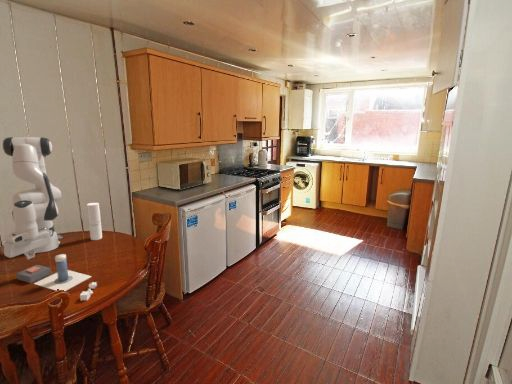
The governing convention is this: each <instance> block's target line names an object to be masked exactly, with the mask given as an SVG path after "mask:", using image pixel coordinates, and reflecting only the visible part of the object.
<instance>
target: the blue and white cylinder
mask: <svg viewBox="0 0 512 384" xmlns="http://www.w3.org/2000/svg"><path fill="white" fill-rule="evenodd" d="M54 261H55V265H56V273H57V275H58V281H59V282H64V281H67V280H68V279H69V277H68V270H69V269H68V261H67V254H65V253H61V254H57V255H55V256H54Z"/></svg>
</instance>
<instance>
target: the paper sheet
mask: <svg viewBox="0 0 512 384" xmlns="http://www.w3.org/2000/svg"><path fill="white" fill-rule="evenodd" d="M68 277H69V279H68V280H67V281H64V282H59V281H58V275H57V272H55V273H53V274H50V275H48V276H46V277H43V278H41V279H39V280H37V282H36V281H35V282H33V285H36V286H38V287H42V288H46V289H48V290H51V291H52V290H53V291H55V292H58V291H57V289H59V290H64V291H65V292H66V291H68V290H71V289H73V288H74V287H76V286H78V285H79V284H81V283H84V282H85V281H87V280H89V279H91V278H92V276H91V275H89V274H85V273H80V272H77V271H75V270H70V269H68Z"/></svg>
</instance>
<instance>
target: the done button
mask: <svg viewBox="0 0 512 384" xmlns="http://www.w3.org/2000/svg"><path fill="white" fill-rule="evenodd" d="M31 267H32V266H31ZM29 268H30V267H29ZM27 269H28V268H27ZM39 270H41V268H39V267H32V268H30V269H28V270H26V272H28V273H31V274H32V273H34V272H37V271H39Z"/></svg>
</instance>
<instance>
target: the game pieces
mask: <svg viewBox="0 0 512 384" xmlns="http://www.w3.org/2000/svg"><path fill="white" fill-rule="evenodd" d="M97 286H98V282H97V281H95V282H94V281H92V282H89V284H88V288H87V290H85V291H83V290H82V292H81V293H80V294H79V299H80V301H81V302H82V301H89V300H90V297H91V295H93V293H94V292H93V289H96V288H97Z"/></svg>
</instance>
